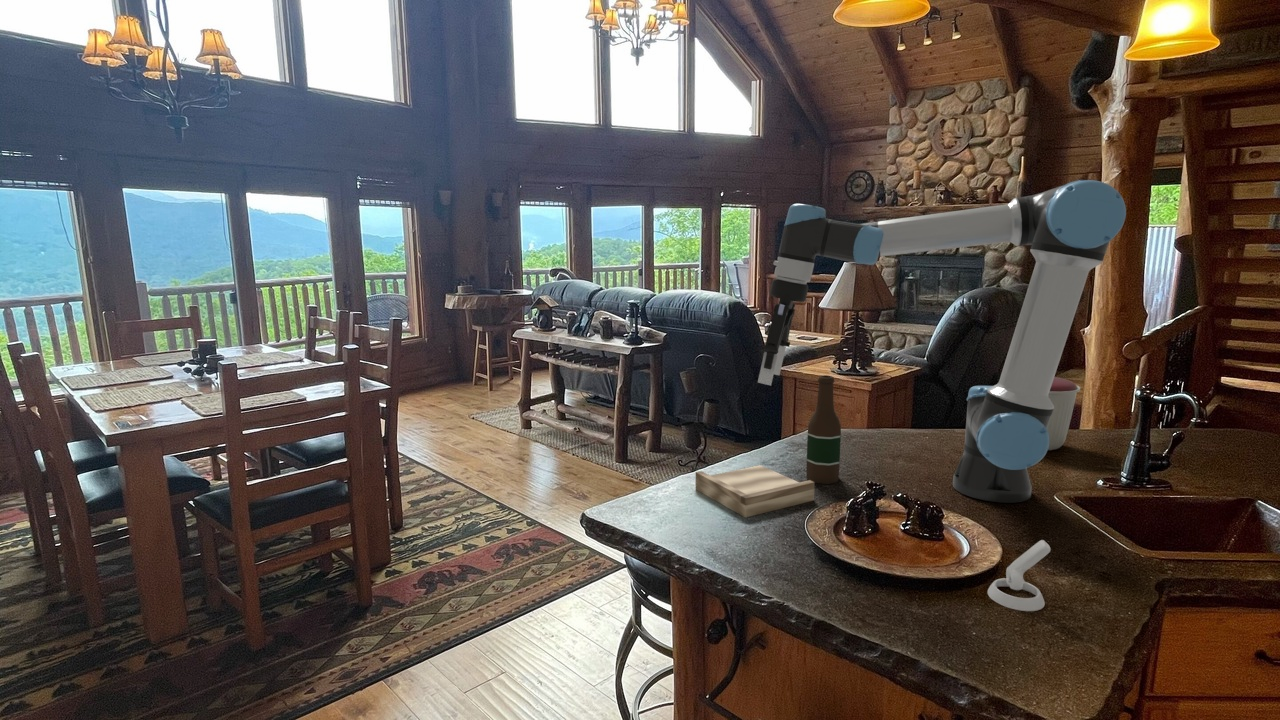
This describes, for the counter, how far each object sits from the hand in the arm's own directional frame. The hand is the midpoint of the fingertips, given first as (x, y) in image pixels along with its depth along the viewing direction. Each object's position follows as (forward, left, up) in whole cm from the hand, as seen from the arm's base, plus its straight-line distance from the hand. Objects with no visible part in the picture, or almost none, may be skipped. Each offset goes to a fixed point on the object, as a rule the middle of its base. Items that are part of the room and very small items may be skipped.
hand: (769, 378), depth 144 cm
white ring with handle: (-54, -4, -25) cm, 60 cm away
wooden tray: (0, +4, -25) cm, 25 cm away
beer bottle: (0, -16, -25) cm, 30 cm away
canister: (-9, -82, -25) cm, 86 cm away
